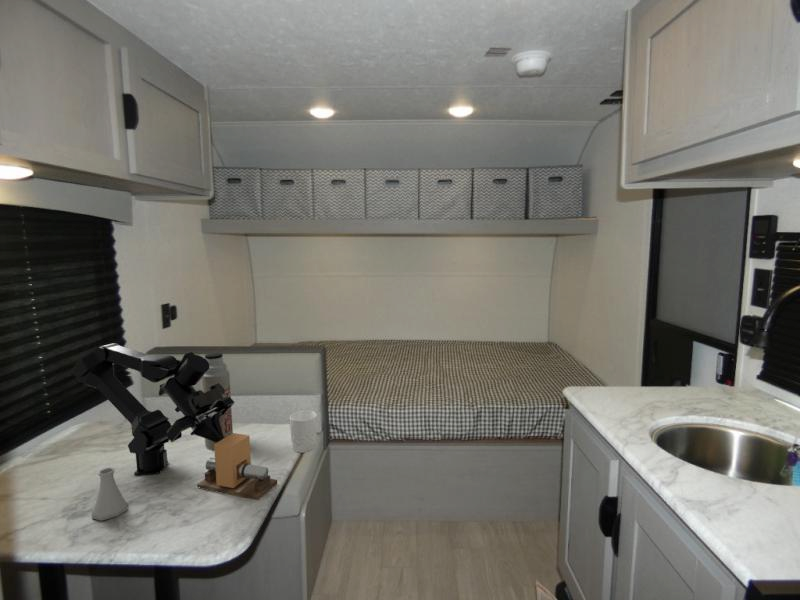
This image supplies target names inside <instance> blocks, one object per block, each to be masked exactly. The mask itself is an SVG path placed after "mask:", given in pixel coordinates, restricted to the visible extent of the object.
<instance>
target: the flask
mask: <svg viewBox="0 0 800 600" xmlns="http://www.w3.org/2000/svg"><path fill="white" fill-rule="evenodd" d="M114 473H115V467H112V466H109V467H105V468H102V469H100V470H98V476H99V479H100V483H99V489H98V491H97V492H98V493H97V495H96V500H95V502H94V506H93V508H92V511H91V519H93V520H97V521H100V522H101V521H105V520H108V519H112V518H116V517H118V516H119V515H120V516H121V514H123V513H125V512H127V511H128V510H129V509H128V508H129V507H128V503H127V501H126V499H125V498H124V496H123V494H122V492H121V491H120V489H119V487H118V485H117V484H116V483H117V482H116V480H115V477H114Z"/></svg>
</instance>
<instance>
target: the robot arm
mask: <svg viewBox="0 0 800 600" xmlns="http://www.w3.org/2000/svg"><path fill="white" fill-rule="evenodd" d="M114 365H118V366H122V367H123V368H124V367H125V368H127V369H131V370H133V371H136V372H139V373H140V375H141V377H142V378H144V379H145V380H147V381H149V382H151V383H159V382H162V381H165V380H166V382H164V383H162V384H159V390H158V396H159V397H161V396H164V395H167V396H168V397H169V398H170V400H171V401H172V403H174V404H175V406H176V407H175V408H174V411H175V412H176V413H179V412H181V413H182V415H184V416H182V417H180V418H178V419H176V420H175V421H174V422H173V423H172V424H171V422H170V421H169V419H170V418H169V417H167V416H165V415H164V413H163V412H162V411H161V410H160V409H156V410H153V411H150V410H148V409H147V408H146V406H144V405H143V404H142V403H141V402H140V401H139V399H137V398H136V397H135V395H133V393H132V392H130V391H129V389H128V388H127V387H126V386H124V384H123V383H122V382H121V381H120V380H119V379H118V378H117V377H116V376H115V367H114ZM209 367H210V366H209V363H208V361H207V360H206V358H205V357H202V356H201V355H199V354H195V353H194V352H193V351H189V352H185V354H184V355H183V356H182V359H181V360H180V359H177V358H176V357H175V356H174V355H172V354H171V355H169V354H149V353H144V352H141V351H138V350H134V349H131V348H128V347H124V346H122V345H120V344H118V343H109V344H108V343H107V344H105V345H101V346H98V347H97V348H96V349H95V350H94V351H93V352H91V353H88V354H87V355H86V356H84V357H82V358H80V359H78V360H76V361H75V363H74V365H73V367H72V374H73V375H74V377H75V378H76V379H77V380H79V381H80V383H82V384H83V385H85V386H88V387H91V388H92V387H93V388H95V389H97V390H99V392H100V393H101V394H102V395H103V396H104V397H105V398H106V399H107V400H108V401H109V402H110V403H111V404H112V405H113V407H115V408H116V409H117V411H118V412H119V413H120V414H121V415H122V416H123V417H124V419H126V420H127V421H128V422H129V423H130V425H131V435H132V437H133V438H132V439H131V441H130V442H129V443H128V444H127V448H128V451H129V453H130V454H134V455H135V461H136V464H135V465H136V470H135V471H134V472H133V475H135V476H137V475H138V476H139V475H156V474H155V473H158V474H160V473H161V472H162V471H163V470H164V469H163V468H166V466H167V465H168V464H169V460H168V453H167V449H165V444H167V443H169V442H171V443H173V442H175V441H177V440H179V439H181V438H182V435H183V433H182V432H185V430H188V429H189V428H191V430H192V431H191V432H190V436H198V437H201V438H203V439H205V438H206V439H208V440H211V441H213V442H216V443H217V442H219V441H221V440H222V439H224V436H223V433H222V430H221V426H220V422H219V418H220V417H221V416H223V415H224V414H225V413H226V412H227V411H228V410H229V409H230V408H231V409H232V407H233V406H234V404H235V401H234V400H233V398H232V396H231V397H225V398H223V396H222V394H224V393H225V390H224V388H223V387H222V386H221V385H220V384H219V383H217V384H215V385H213V386H211V387H210V391H207V392H205V393H204V392H203V391H202V389H198V390H196V389H195V388H194V386H195V385H197V384H198V383H199V382H200V381H201V378H202V377H203V376H204V374H205V373H206V372H207V371H208V369H209ZM222 398H223V399H222ZM218 399H220V400H218ZM216 400H218V401H217V402H216ZM214 402H216V403H215V405H214V406H213V407H212V408H211V409H210V407H211V406H212V405H213V404H214ZM205 415H206V416H205ZM167 463H168V464H167Z"/></svg>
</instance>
